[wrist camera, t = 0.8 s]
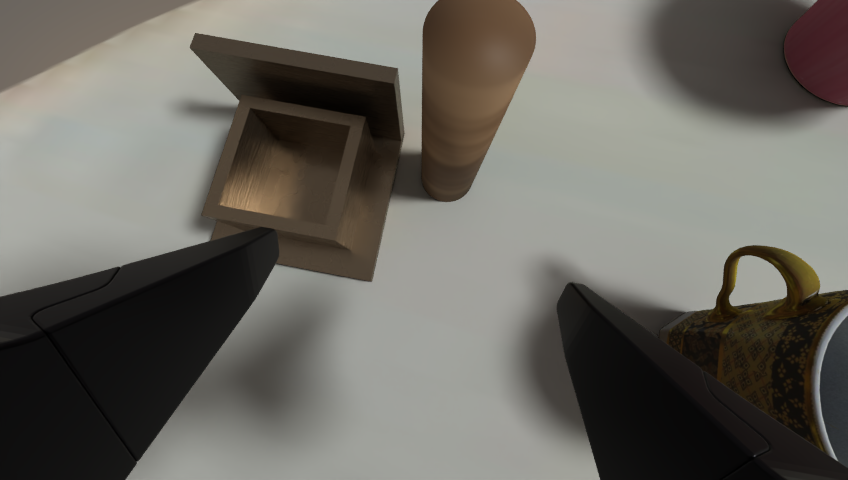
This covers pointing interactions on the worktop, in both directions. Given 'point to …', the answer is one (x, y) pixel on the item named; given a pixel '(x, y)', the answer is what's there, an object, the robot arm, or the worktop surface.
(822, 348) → the ceramic cup
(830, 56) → the plant pot
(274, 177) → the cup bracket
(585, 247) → the worktop surface
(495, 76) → the wooden pestle
